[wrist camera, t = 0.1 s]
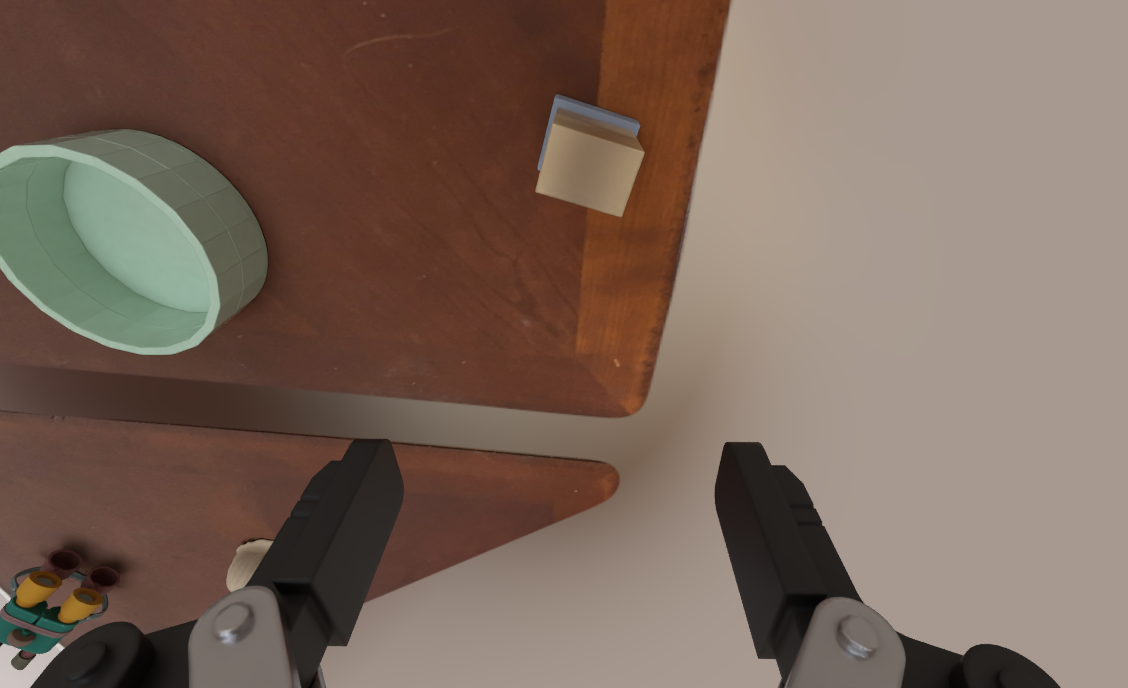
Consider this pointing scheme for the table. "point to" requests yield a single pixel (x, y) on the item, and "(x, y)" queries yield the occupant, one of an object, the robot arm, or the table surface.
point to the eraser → (589, 156)
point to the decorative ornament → (246, 563)
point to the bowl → (128, 239)
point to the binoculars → (44, 628)
